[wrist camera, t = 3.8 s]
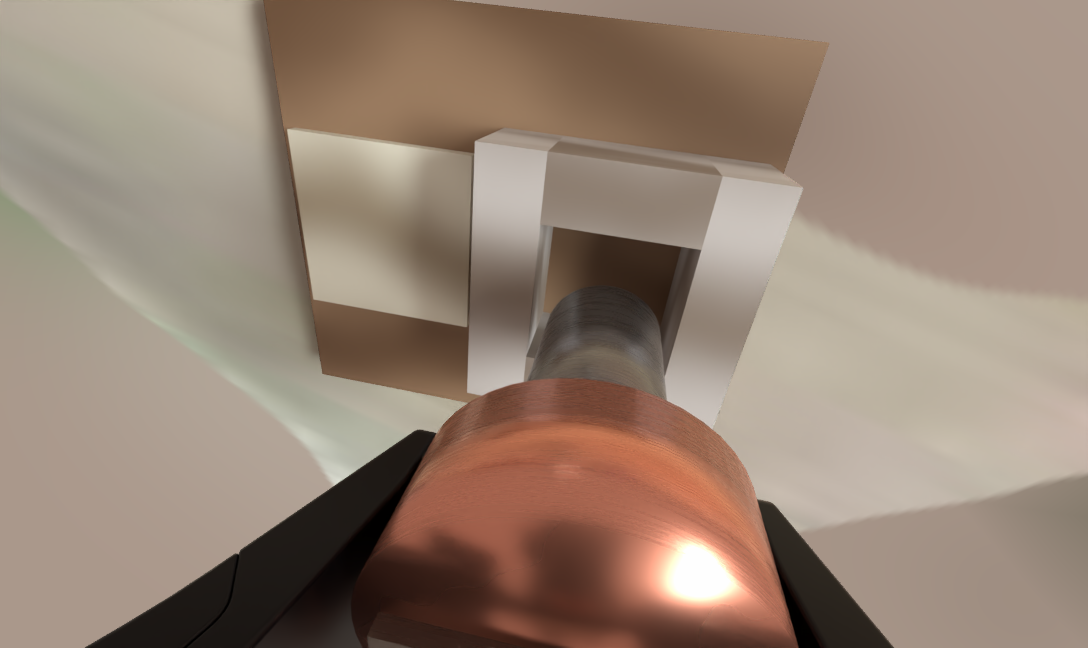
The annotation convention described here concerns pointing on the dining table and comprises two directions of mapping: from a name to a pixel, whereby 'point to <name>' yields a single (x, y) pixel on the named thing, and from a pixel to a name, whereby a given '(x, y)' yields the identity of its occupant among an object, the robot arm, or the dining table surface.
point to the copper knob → (577, 512)
